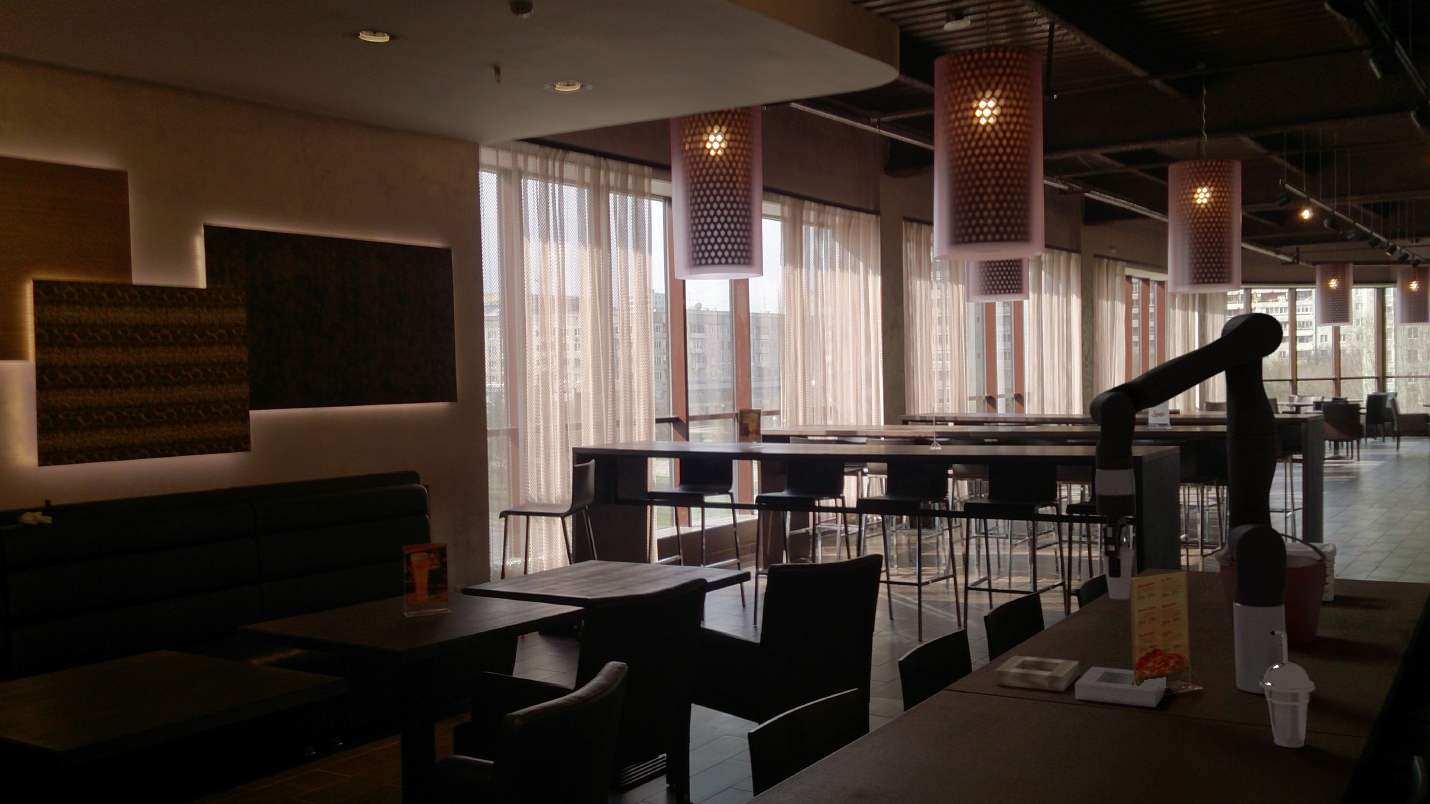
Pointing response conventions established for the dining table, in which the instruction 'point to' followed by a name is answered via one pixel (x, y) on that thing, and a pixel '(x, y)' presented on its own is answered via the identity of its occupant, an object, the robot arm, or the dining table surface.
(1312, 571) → the bucket
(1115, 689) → the ring
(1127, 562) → the smoothie
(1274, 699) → the cup with straw
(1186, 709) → the dining table surface
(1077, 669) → the socket block
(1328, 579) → the storage basket
